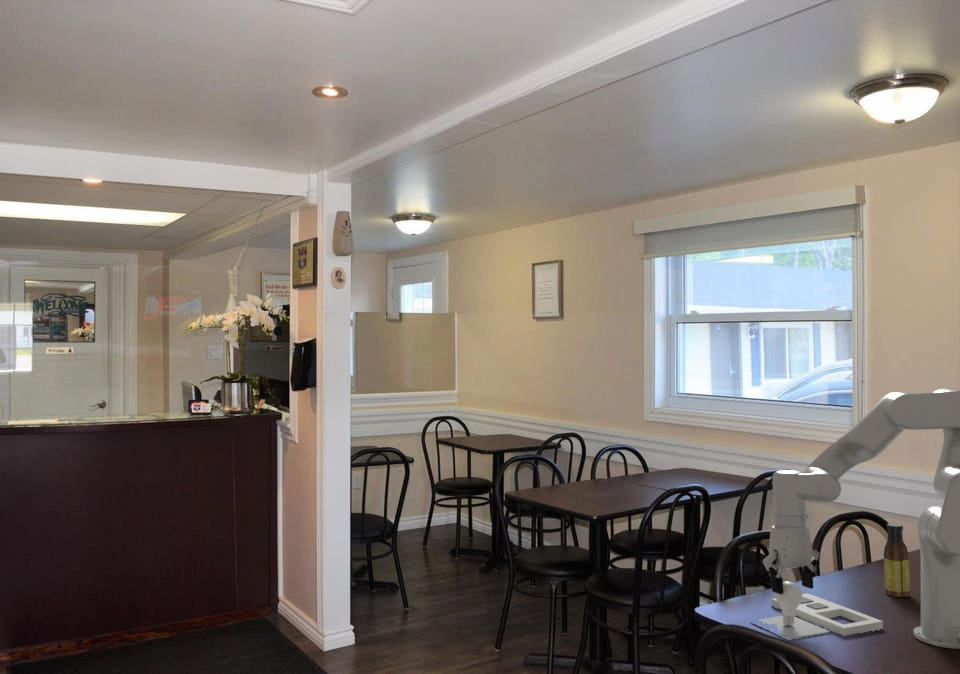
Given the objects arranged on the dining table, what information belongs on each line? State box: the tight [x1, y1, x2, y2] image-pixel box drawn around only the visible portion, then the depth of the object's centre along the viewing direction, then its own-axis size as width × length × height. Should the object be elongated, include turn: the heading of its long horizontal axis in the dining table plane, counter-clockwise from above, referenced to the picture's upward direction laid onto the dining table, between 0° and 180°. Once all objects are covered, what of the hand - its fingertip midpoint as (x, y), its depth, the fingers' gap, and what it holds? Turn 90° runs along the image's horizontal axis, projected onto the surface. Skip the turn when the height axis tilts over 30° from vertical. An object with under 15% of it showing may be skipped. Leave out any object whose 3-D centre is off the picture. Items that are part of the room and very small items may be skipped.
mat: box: [758, 615, 831, 640], centre depth 195 cm, size 13×13×1 cm
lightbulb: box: [774, 580, 803, 627], centre depth 195 cm, size 6×6×11 cm
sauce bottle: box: [883, 522, 911, 598], centre depth 223 cm, size 7×6×20 cm
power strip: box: [770, 593, 884, 636], centre depth 203 cm, size 24×13×3 cm, turn 23°
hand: (792, 589), depth 195 cm, fingers open, 9 cm apart
